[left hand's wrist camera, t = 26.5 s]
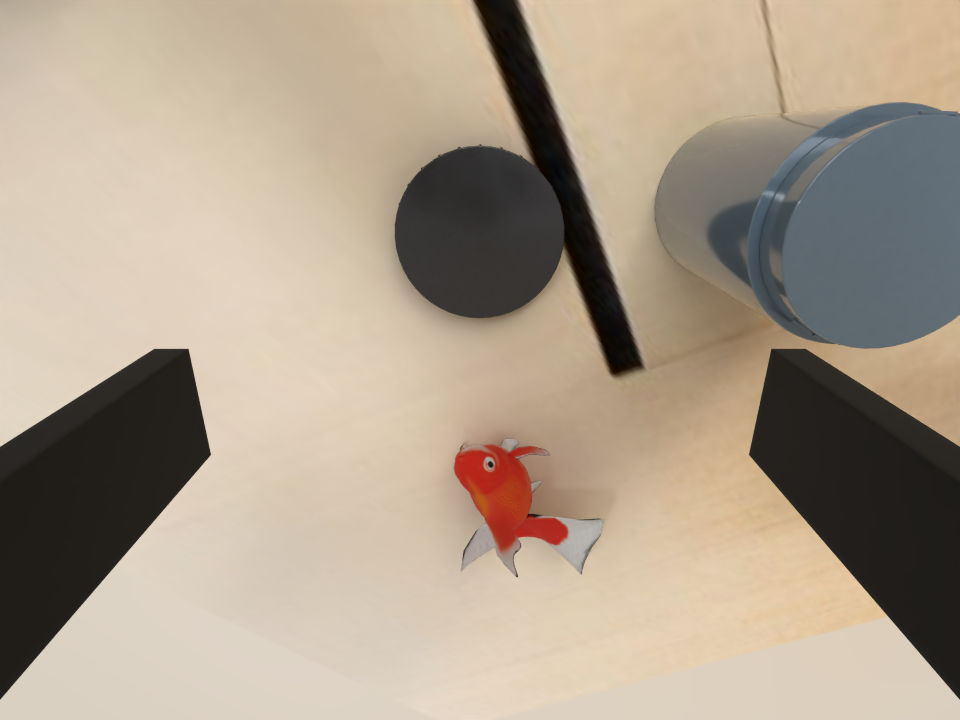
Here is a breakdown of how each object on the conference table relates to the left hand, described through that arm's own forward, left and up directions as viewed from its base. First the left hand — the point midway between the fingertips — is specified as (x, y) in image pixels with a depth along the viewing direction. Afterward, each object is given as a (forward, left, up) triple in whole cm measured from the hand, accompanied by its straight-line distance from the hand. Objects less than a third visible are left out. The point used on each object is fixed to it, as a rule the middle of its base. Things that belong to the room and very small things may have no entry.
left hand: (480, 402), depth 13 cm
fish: (+8, -19, -26) cm, 33 cm away
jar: (+16, +6, -26) cm, 31 cm away
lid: (0, 0, -24) cm, 24 cm away
